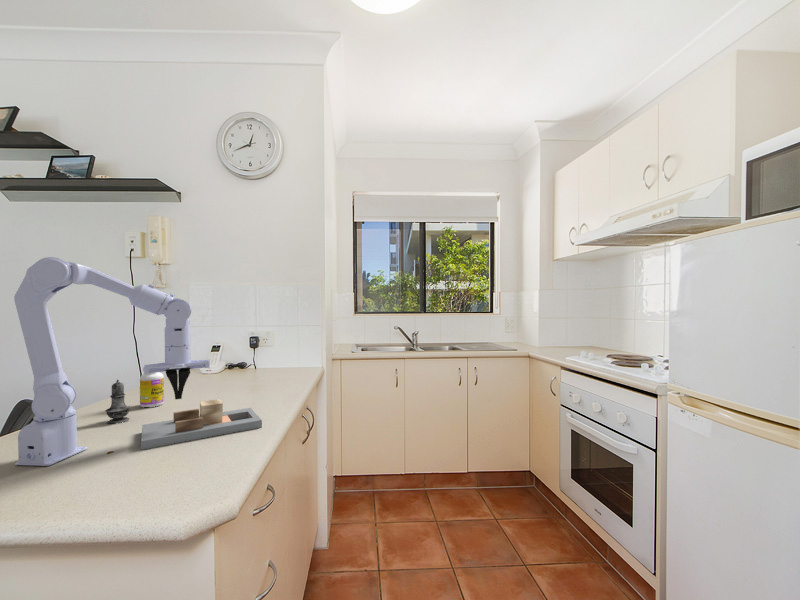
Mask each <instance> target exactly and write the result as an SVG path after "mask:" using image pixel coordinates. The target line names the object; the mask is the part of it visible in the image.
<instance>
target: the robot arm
mask: <svg viewBox="0 0 800 600" xmlns="http://www.w3.org/2000/svg"><path fill="white" fill-rule="evenodd" d="M72 284H74V285H93V286H95V287H99V288H101V289H103V290H107V291H109V292H111V293H115V294H117V295H120V296H122V297H125V298H127V299H129V303H130V304H131V305H132V306H134V307H136V308H138V309H141V310H143V311H145V312H149V313H151V314H154V315H156V316H161V315H164V317H165V328H164V362H159V363H152V364H144V366H143V367H144V371H143V374H148V373H153V372H160V373H162V372H165V375H166V377H167V378H168V380H169V383H170V385H171V386H172V390H173V392H174V400H182V399H183V398H182V397H183V391H184V388H185V385H186V383H187V381H188V378H189V376H190V374H191V370H194V369H203V368H205V369H208V368H209V369H210V360H209V359H196V360H195V359H193V360H191V327H190V324H191V323H190V322H191V321H190V319H189V318H190V316H191V315H192V309H191V307H190V304H189V303H188V302H187V301H186V300H184V299H181V298H175V293H170V294H169V293H166V292H164V291H162V290H160V289H157V288H156V286H155V285H153V284H150V283H149V284H148V285H147V284H145V283H143V284H139V285H136V286H134V285H132V284H129V283H127V282H125V281H122V280H121V279H119V278H116V277H114V276H111V275H109V274H106V273H104V272H102V271H99V270H98V269H96V268H93V267H90V266H86V265H83V264H79V263H76V262H71V261H66V260H64V259H62V258H59V257H54V256H47V257H43V258H40V259H38V260H37V261H36V262H34V264H31V266H29V267H28V268H26V272H25V276H24V277H23V279H22V281H21V283H20V285H19V286H18V288H17V291H16V292H15V294H14V296H13V299H14V305H15V308H16V313H17V317H18V319H19V320H18V321H19V324H20V328H21V332H22V336H23V340H24V343H25V348H26V351H27V355H28V358H29V362H30V366H31V370H32V374H33V384H32V385H33V387H32V390H33V395H34V397H33V400H32V402H31V411H32V413H33V414H34V416H33V420H32V421H31V422H30V423H29V424H26V425H25V426H23V427H22V428H20V431H19V432H18V437H17V445H18V446H17V449H18V455H17V456H18V461H16V462H15V463H14V465H15V466H39V467H40V466H41V467H42V466H43V467H48V466H52V465H54V464H56V463H58V462H60V461H63V460H65V459H67V458H69V457H72V456H74V455H76V454H79V453H81V452H83V451H86V450H87V449H88V446H79V445H78V422H77V421H78V419H77V418H78V416H77V410H76V409H75V408H74V407H73V406H72V404H74V403H75V400H76V399H77V391H76V389H75V387H74V386H73V385H72V384H71V383H70V382H69V379H68V376H67V374H66V373H65V371H64V370H63V364H62V361H61V357H60V353H59V348H58V344H57V341H56V340H57V339H56V337H55V333H54V329H53V328H54V327H53V324H52V321H51V317H50V313H49V308H48V304H47V303H48V302H49V301H50V300H51V299H52V298H53V297H54V296H55V295H56V294H57V293H58V292H60V291H61V290H64V289H66V288H67V287H69V286H71V285H72Z"/></svg>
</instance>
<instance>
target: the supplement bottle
mask: <svg viewBox="0 0 800 600" xmlns="http://www.w3.org/2000/svg"><path fill="white" fill-rule="evenodd" d="M142 371H143V372H144V366H143V367H142ZM164 378H165V377H164V374H163V373H162V372H153V373H148V374H144V373H143V374H141V375H140V377H139V406H140V407H141V408H144V407H150V408H155V406H156V407H159V405H160V406H162V405H164V403H165V386H164V384H165V381H164Z"/></svg>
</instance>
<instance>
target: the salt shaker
mask: <svg viewBox="0 0 800 600" xmlns="http://www.w3.org/2000/svg"><path fill="white" fill-rule="evenodd" d="M124 385H125V384H124V383H123V382H120V381H119V379H116V381H115V382H114V383H112V384H111V395H110V396H109V397H110V399H111V404H110V407H108V408H107V409H105V413H106V415H107V417H108V418H110V419H109V420H107V422H106V424H108V425H117V424H116V423H118V424H123V423H126V422H129V421H130V420H129V419H130V418H129V417H126V416H127V415H128V414H129V412H130V409H131V406H130V405H126V402H125V396H126V394H125V386H124ZM128 420H129V421H128ZM125 421H126V422H125ZM122 422H123V423H122Z"/></svg>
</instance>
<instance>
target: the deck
mask: <svg viewBox="0 0 800 600" xmlns="http://www.w3.org/2000/svg"><path fill="white" fill-rule="evenodd" d="M225 415H227V416H228V417H229V418H230V420H231V421H230V422H225V423H219V424H213V425H208V424H206V425H203V428H202V429H196V430H190V431H184V432H179V433H176V431H175V423H174V419H172V420H164V421H158V422H152V423H146V424H142V425H141V439H140V441H141V443H140V445H141V450H142V451H143V450H147V449H153V448H159V447H165V446H169V445H174V443H175V444H181V443H185V442H184V441H186V442H190V441H189V440H191V441H196V440H195V439H197V440H201V438H202V439H206V438H207V437H208V438H213V437H218V436H224V435H228V433H229V434H234V433H238V431H240V432H244V431H243V430H245V431H250V430H255V429H261V428H262V427H263V419H262V418H260V416H258V413H256V412H255V411H254V410H253V409H252V408H251V407H247V408H241V409H234V410H228V411H223V414H222V416H225ZM199 418H200V415H199ZM233 432H234V433H233ZM223 434H224V435H223ZM217 435H218V436H217ZM212 436H213V437H212ZM180 442H181V443H180Z"/></svg>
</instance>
